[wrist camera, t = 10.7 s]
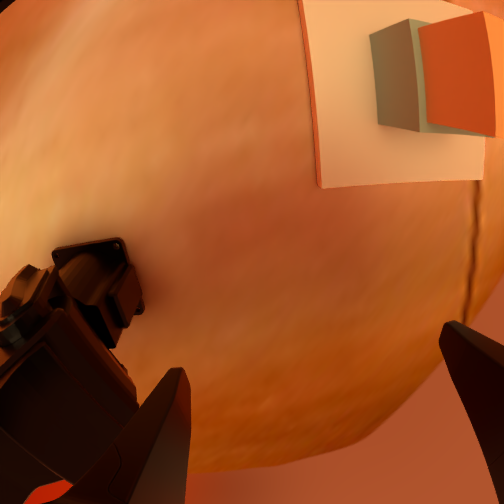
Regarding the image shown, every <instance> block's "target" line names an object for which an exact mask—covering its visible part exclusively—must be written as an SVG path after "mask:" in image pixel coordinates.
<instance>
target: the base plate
mask: <svg viewBox="0 0 504 504" xmlns="http://www.w3.org/2000/svg"><path fill="white" fill-rule="evenodd" d="M298 6H299V12H300V19H301V25H302V32H303V39H304V47H305V54H306V62H307V70H308V79H309V88H310V98H311V108H312V119H313V130H314V143H315V157H316V172H317V185H318V186H319V187H320V188H321V189H327V188H338V187H349V186H362V185H375V184H390V183H407V182H426V181H451V180H483V173H484V156H485V137H481V136H470V135H458V134H442V133H420V132H415V131H411V130H406V129H401V128H396V127H391V126H385V125H380V124H378V118H377V102H376V90H375V79H374V69H373V60H372V52H371V45H370V38H369V35H370V34H372V33H374V32H377V31H379V30H381V29H384V28H386V27H388V26H391V25H393V24H396V23H398V22H401V21H403V20H406V19H408V18H410V19H415V20H419V21H424V22H428V23H432V24H433V23H436V22H440V21H443V20H447V19H451V18H455V17H459V16H463V15H468V14H472V13H473V11H471V10H469V9H466V8H463V7H460V6H457V5H455V4H451V3H448V2H445V1H442V0H298Z"/></svg>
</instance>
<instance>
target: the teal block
mask: <svg viewBox="0 0 504 504" xmlns="http://www.w3.org/2000/svg"><path fill="white" fill-rule="evenodd" d="M429 24H432V23H428V22H424V21H419V20H415V19H410V18H408V19H406V20H403V21H401V22H398V23H396V24H393V25H391V26H388V27H386V28H384V29H381V30H379V31H377V32H374V33H372V34H370V35H369V38H370V45H371V52H372V60H373V69H374V79H375V90H376V102H377V118H378V124H380V125H385V126H391V127H396V128H401V129H406V130H411V131H415V132H420V133H442V134H458V135H470V136H481V137H491V138H495V137H492V136H488V135H484V134H480V133H476V132H471V131H467V130H463V129H458V128H453V127H449V126H443V125H438V124H433V123H427V115H426V97H425V83H424V73H423V63H422V55H421V48H420V41H419V34H418V28H419V27H422V26H426V25H429Z"/></svg>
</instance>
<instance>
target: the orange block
mask: <svg viewBox="0 0 504 504" xmlns="http://www.w3.org/2000/svg"><path fill="white" fill-rule="evenodd" d="M418 34H419V41H420V48H421V55H422V63H423V73H424V83H425V97H426V115H427V123H433V124H438V125H443V126H449V127H453V128H458V129H463V130H467V131H471V132H476V133H480V134H484V135H488V136H492V137H495V138H504V20H502V19H500V18H498V17H495V16H493V15H491V14H489V13H486V12H484V11H482V12H477V13H472V14H468V15H463V16H459V17H455V18H451V19H447V20H443V21H440V22H436V23H433V24H429V25H426V26H422V27H419V28H418Z"/></svg>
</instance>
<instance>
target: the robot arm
mask: <svg viewBox="0 0 504 504" xmlns="http://www.w3.org/2000/svg"><path fill="white" fill-rule="evenodd" d="M115 243H117V244H118V245H119V247H116V246H115ZM56 253H57V254H58V255H59V256H57V254H56ZM52 258H53V261H54V263H55V265H53V266H51V267H49V268H46V269H43V270H40V268H39V269H37V268H35V267H34V266H32V265H30V264H28V265H26V266H24V267H23V268H22V269H21V270H20V271H19V272H18V273H17V274H16V275H15V276H14V277H13V278H12V279H11V280H10V282H9V283H8V285H7V287H6V288H5V289H4V290H3V291H2V292H1V296H0V504H24V503H25V502H26V501H27V499H28V498H29V497H30V495H31V494H32V493H33V492H34V491H35V489H37V488H38V487H41V486H45V485H49V484H52V483H55V482H59V481H62V480H66V481H67V482H69V483H70V484H72V485H73V486H72V487H71V488H70V489H69V490H68V491H67V492H66V493H65V494H63V495H62V496H61V497H59V498H57V499H55V500H53V501H50V502H46V503H42V504H184V503H185V491H186V478H187V468H188V458H189V447H190V438H191V388H190V383H189V380H188V378H187V375H186V373H185V370H184V369H183V368H182V367H176V368H170V369H169V370H168V372H167V373H166V374H165V375H164V377H163V378H162V379H161V381H160V382H159V383H158V385H157V386H156V387H155V388H154V390H153V391H152V392H151V394H150V395H149V396H148V397H147V399H146V400H145V401H144V403H143V404H142V405H141V406H140V408H139V404H138V402H137V394H136V387H135V385H134V383H133V381H132V379H131V378H130V377H129V376H128V372H127V369H126V368H125V367H124V365H123V364H120V363H119V361H118V360H117V359H116V357H115V356H114V355H113V354H112V352H111V351H110V350H109V349H114V348H115V347H116V345H117V343H118V340H119V338H120V335H121V333H122V330H123V329H126V328H128V327H129V325H130V323H131V320H132V318H133V315H141V314H142V313H143V311H144V309H145V307H144V304H143V301H142V298H141V296H142V291H141V288H140V285H139V282H138V279H137V276H136V273H135V269H134V266H133V265H132V264H130V262H129V258H128V255H127V252H126V248H125V245H124V242H123V240H121V239H120V238H111V239H105V240H99V241H93V242H88V243H82V244H76V245H70V246H65V247H59V248H56V249H54V250H53V252H52ZM137 307H138V308H140V309H137ZM439 346H440V349H441V352H442V354H443V357H444V360H445V362H446V365H447V368H448V371H449V373H450V376H451V379H452V381H453V383H454V385H455V388H456V389H457V392H458V394H459V396H460V398H461V401H462V403H463V405H464V407H465V410H466V412H467V414H468V417H469V419H470V421H471V424H472V426H473V429H474V431H475V434H476V436H477V439H478V441H479V444H480V446H481V449H482V452H483V455H484V457H485V460H486V463H487V466H488V469H489V472H490V475H491V478H492V481H493V484H494V488H495V490H496V494H497V498H498V501H499V504H504V346H503V345H501V344H500V343H498V342H496V341H494V340H492V339H490V338H488V337H486V336H484V335H482V334H481V333H479V332H477V331H475V330H473V329H471V328H469V327H467V326H465V325H463V324H461V323H459V322H457V321H455V320H452V321H449V322H446V323H445V324H444V325H443V328H442V331H441V334H440V338H439Z"/></svg>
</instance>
